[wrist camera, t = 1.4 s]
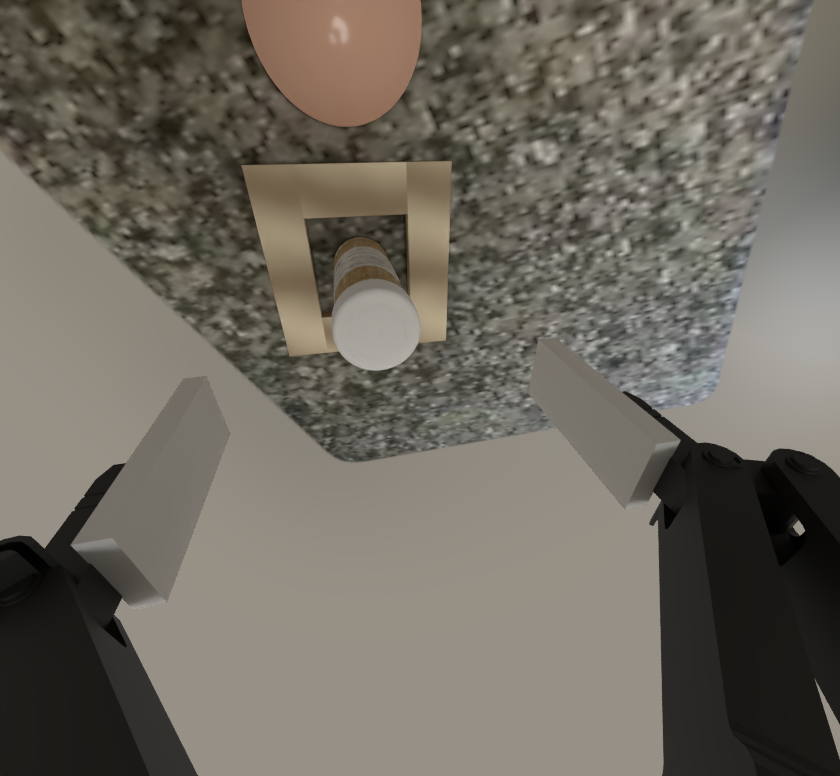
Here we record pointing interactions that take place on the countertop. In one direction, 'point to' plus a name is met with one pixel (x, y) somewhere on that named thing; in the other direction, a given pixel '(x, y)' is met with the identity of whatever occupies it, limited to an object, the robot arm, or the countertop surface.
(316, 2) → the coaster
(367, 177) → the collar board
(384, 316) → the sprinkles bottle
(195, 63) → the countertop surface
